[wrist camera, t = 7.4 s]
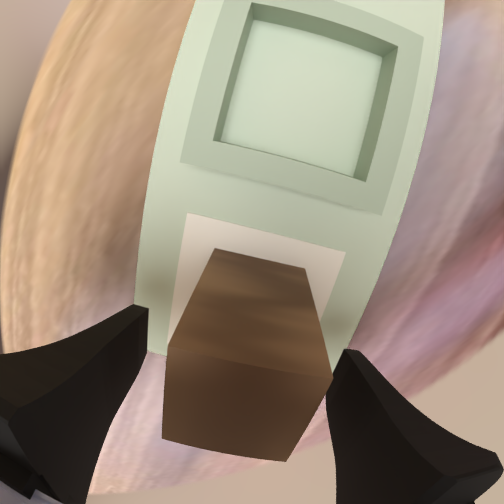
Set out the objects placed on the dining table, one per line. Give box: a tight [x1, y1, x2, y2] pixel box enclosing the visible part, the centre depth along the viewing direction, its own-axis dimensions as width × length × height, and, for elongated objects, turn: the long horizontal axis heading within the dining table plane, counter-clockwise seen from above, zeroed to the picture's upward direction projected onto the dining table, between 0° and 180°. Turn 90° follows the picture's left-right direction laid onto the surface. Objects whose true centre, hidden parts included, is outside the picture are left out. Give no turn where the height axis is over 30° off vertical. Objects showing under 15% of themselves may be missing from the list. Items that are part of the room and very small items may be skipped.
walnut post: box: [162, 248, 333, 462], centre depth 11 cm, size 4×4×7 cm
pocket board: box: [134, 0, 445, 373], centre depth 12 cm, size 11×22×2 cm, turn 166°
